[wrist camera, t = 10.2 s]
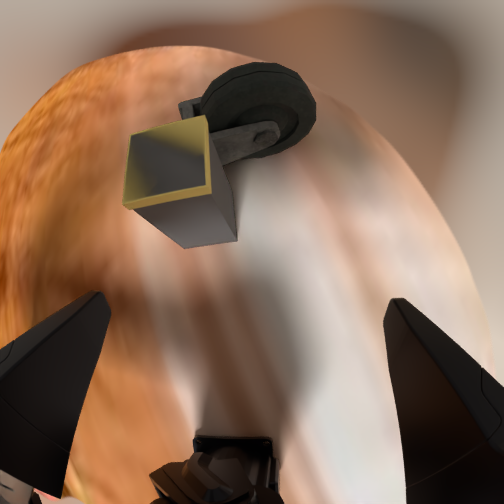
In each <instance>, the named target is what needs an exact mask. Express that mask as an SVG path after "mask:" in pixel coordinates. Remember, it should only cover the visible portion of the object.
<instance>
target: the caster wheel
mask: <svg viewBox="0 0 504 504" xmlns="http://www.w3.org/2000/svg"><path fill="white" fill-rule="evenodd" d="M178 108H179V111H180V114H181V117H182V120H184V119H189V118H193V117H197V116H202V115H205V117H206V119H207V122H208V130H209V133H210V136H211V138H212V141H213V143H214V146H215V148H216V151H217V154H218V156H219V159H220V161H221V164H222V166H223V165H226V164H228V163H230V162H233V161H235V160H237V159H247V158H261V157H265V156H268V155H272V154H276V153H279V152H281V151H283V150H285V149H287V148H289V147H291V146H293V145H295V144H297V143H298V142H299V141H300V140H301V139H303V138H304V137H305V136H306V135H307V134H308V133H309V132H310V130H311V128H312V126H313V125H314V123H315V121H316V102H315V100H314V98H313V96H312V94H311V92H310V90H309V89H308V87H307V85H306V84H305V82H304V81H303V80H302V78H301V77H300V76H299V74H298V73H297V72H295V71H293V70H291V69H288V68H286V67H284V66H282V65H280V64H277V63H264V62H252V63H249V64H245V65H241V66H238V67H234V68H231V69H229V70H228V71H226V72H225V73H223V74H222V75H221V76H219V77H218V78H216V79H215V80H213V81H212V82H211V84H210V85H209V87H208V88H207V90H206V91H205V93H204V95H203V96H202V97H199V98H195V99H191V100H188V101H183V102H181V103H179V104H178Z"/></svg>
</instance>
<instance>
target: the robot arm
mask: <svg viewBox="0 0 504 504" xmlns="http://www.w3.org/2000/svg"><path fill="white" fill-rule="evenodd" d="M110 318H111V309H110V307H109V304H108V302H107V300H106V298H105V295H104V293H103V292H101V291H95V290H92V291H89V292H88V293H86V294H85V295H83V296H81V297H80V298H78V299H76V300H75V301H73V302H72V303H70V304H68V305H67V306H65V307H64V308H62V309H60V310H59V311H57V312H56V313H54V314H53V315H51V316H49V317H48V318H46V319H45V320H43V321H42V322H40V323H39V324H37V325H36V326H34V327H33V328H31V329H30V330H28V331H27V332H25V333H24V334H22V335H21V336H19V337H18V338H16V339H15V340H13V341H12V342H10V343H9V344H7V345H6V346H4V347H3V348H1V349H0V504H42V502H41V500H40V497H39V494H37V493H36V492H34V488H36V489H38V490H40V491H42V492H44V493H47V494H49V495H51V496H54V497H56V498H59V499H61V496H62V491H63V485H64V480H65V474H66V469H67V465H68V460H69V456H70V453H69V452H70V451H71V446H72V442H73V438H74V435H75V431H76V427H77V423H78V420H79V416H80V413H81V410H82V406H83V403H84V400H85V397H86V393H87V390H88V387H89V384H90V381H91V378H92V375H93V373H94V370H95V367H96V364H97V361H98V359H99V356H100V353H101V349H102V346H103V342H104V338H105V335H106V331H107V328H108V324H109V321H110ZM383 327H384V334H385V342H386V350H387V359H388V367H389V373H390V378H391V383H392V388H393V393H394V398H395V404H396V410H397V416H398V422H399V428H400V435H401V443H402V451H403V460H404V470H405V483H406V504H504V387H503V386H502V385H501V384H500V383H498V382H497V381H496V380H495V379H494V378H493V377H492V376H491V375H490V374H489V373H488V372H487V371H486V370H485V369H484V368H481V365H480V364H479V363H477V362H476V361H475V360H474V359H473V358H472V357H471V356H470V355H469V354H468V353H467V352H466V351H465V350H464V349H462V348H461V347H460V346H459V345H458V344H457V343H456V342H455V341H454V340H453V339H451V338H450V337H449V336H448V335H447V334H446V333H445V332H444V331H442V330H441V329H440V328H439V327H438V326H437V325H436V324H434V323H433V322H432V321H431V320H430V319H429V318H427V317H426V316H425V315H424V314H423V313H422V312H420V311H419V310H418V309H417V308H416V307H414V306H413V305H412V304H411V303H410V302H408V301H407V300H406V299H404V298H392V299H391V300H390V302H389V304H388V307H387V310H386V313H385V316H384V320H383ZM197 440H200V441H201V443H199V442H198V441H197ZM265 441H268V442H269V444H264V443H263V442H265ZM193 448H194V453H193V455H192V456H191V457H190V459H188V460H185V461H184V462H171V463H168V464H166V465H164V466H162V467H161V468H159V469H157V470H156V471H154V472H152V473H151V474H149V477H150V479H151V481H152V483H153V485H154V487H155V489H156V491H157V493H158V495H159V497H160V498H158V499H156V500H154V501H153V502H151V503H150V504H284V501H283V500H282V498H281V496H280V469H279V459H277V458H273V441H272V439H271V438H269V437H218V436H201V435H197V436H195V437H194V439H193Z"/></svg>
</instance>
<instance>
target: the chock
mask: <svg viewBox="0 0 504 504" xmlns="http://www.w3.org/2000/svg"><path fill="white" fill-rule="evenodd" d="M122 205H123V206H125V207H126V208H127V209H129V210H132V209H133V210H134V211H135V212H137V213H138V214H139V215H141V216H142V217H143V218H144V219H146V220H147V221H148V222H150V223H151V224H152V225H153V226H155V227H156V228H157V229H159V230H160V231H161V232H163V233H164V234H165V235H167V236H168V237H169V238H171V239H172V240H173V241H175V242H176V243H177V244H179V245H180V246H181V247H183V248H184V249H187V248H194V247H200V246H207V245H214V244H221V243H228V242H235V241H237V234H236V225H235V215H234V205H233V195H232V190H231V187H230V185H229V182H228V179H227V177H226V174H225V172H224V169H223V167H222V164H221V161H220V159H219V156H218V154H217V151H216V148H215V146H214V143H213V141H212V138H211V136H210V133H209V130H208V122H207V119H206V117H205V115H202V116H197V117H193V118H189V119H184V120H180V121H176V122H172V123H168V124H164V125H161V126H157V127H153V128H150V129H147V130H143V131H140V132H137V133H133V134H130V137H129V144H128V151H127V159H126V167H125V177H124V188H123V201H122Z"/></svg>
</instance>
